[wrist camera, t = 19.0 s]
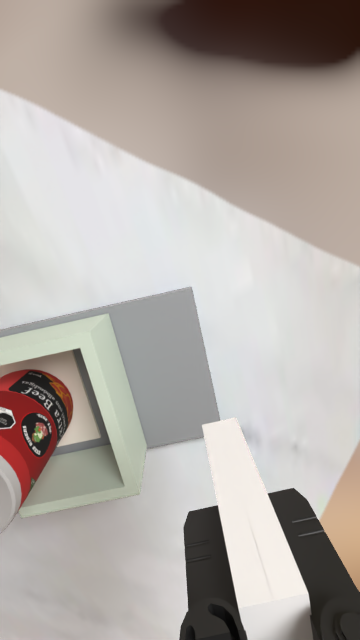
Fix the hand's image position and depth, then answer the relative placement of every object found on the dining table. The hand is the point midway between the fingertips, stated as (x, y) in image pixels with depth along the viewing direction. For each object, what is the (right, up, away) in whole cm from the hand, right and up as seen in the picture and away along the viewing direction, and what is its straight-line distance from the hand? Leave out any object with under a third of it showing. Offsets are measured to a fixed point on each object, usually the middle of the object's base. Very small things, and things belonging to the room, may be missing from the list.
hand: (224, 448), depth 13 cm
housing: (-12, -2, +15) cm, 19 cm away
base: (-10, -1, +17) cm, 19 cm away
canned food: (-16, -2, +15) cm, 22 cm away
